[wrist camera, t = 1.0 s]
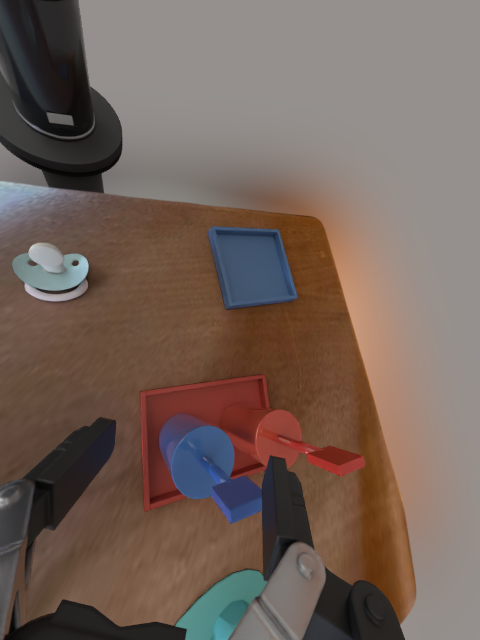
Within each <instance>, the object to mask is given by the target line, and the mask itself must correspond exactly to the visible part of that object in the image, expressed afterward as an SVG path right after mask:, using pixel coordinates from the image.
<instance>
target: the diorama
mask: <svg viewBox="0 0 480 640" xmlns="http://www.w3.org/2000/svg"><path fill="white" fill-rule="evenodd" d="M266 584H267V581H264V577H263V575H262V574H261V573H260V572H259V571H256V570H250V569H245V570H241V571H238V572H234V573H232V574H230V575H229V576H227V577H225V578H224V579H222V580H220V581H219V582H217V583H216V584H214V585H213V586H212V587H211V588H210V589H209V590H208V591H206V592H205V593H204V594H203V595H202V596H201V597H199V598H198V599H197V600H196V602H195V603H194V604H193V605H192V606H191V607H190V608H189V609H188V610H187V612H186V613H185V614H184V615H183V616H182V617H181V618H180V619H179V621H178V622H177V623H176V625H175V626H176V627H180V628H185V629H187V632H186V638H185V640H228V639H229V637H230V635H231V634H232V632H233V631H234V629H235V627H236V626H237V624H238V623H239V621H240V619H241V618H242V616H243V615H244V613H245V611H246V610H247V608H248V607H249V605H250V603H251V602H252V601H253V599H254V598H255V597H256V596H257V597H258V596H259V595H260V593H261V592H262V590H263V589H264V587H265V585H266Z"/></svg>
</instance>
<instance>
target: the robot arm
mask: <svg viewBox="0 0 480 640" xmlns="http://www.w3.org/2000/svg"><path fill="white" fill-rule="evenodd" d="M0 70H1V73H2V75H3V78H4V80H5V83H6V85H7V88H8V90H9V92H10V95H11V97H12V101H13V104H14V107H15V109H16V112H17V114H18V115H19V117H20V118H21V119H22V120H23V122H24V123H25V124H27V125H28V126H29V127H30V128H32V129H33V130H34V131H36V132H38V133H40V134H41V135H44V136H46V137H48V138H51V139H55V140H59V141H65V142H76V141H81V140H84V139H86V138H88V137H90V136H91V135H92V133H93V132H94V130H95V125H96V123H95V116H94V113H93V107H92V99H91V90H90V83H89V76H88V68H87V60H86V53H85V46H84V38H83V31H82V23H81V16H80V8H79V1H78V0H0ZM115 432H116V421H115V420H111V419H106V418H102V417H100V418H98V419H97V420H96V421H95V422H94V423H93V424H92V425H91V426H90V427H89V426H84V427H82V428H80V429H78V430H76V431H74V432H73V433H72V434H70V435H69V436H68V437H67V438H66V439H65V440H64V441H63V442H62V443H61V444H60V445H58V446H57V447H56V449H55V450H53V451H52V452H51V453H50V454H49V455H47V456H46V457H45V458H44V459H43V460H42V461H41V462H40V463H39V464H38V465H36V466H35V467H34V468H33V469H32V470H31V471H30V472H29V473H28V474H27V475H25V476H24V477H23V478H22V479H18V480H13V481H10V482H7V483H5V484H3V485H1V486H0V640H185V638H186V632H187V629H185V628H180V627H176V626H172V625H168V624H164V623H160V622H151V623H145V624H138V625H132V626H125V627H120V626H117V625H116V624H115V623H113V622H112V621H111V620H109V619H108V618H107V617H106V616H104V615H103V614H102V613H101V612H99V611H98V610H97V609H95V608H94V607H93V606H88V605H84V604H80V603H76V602H72V601H68V600H62V601H61V603H60V605H59V607H58V608H57V610H56V612H55V613H51V614H47V615H44V616H41V617H39V618H36V619H34V620H32V621H30V622H28V623H26V612H27V599H28V591H29V584H30V577H31V571H32V564H33V557H34V550H35V543H36V537H37V536H38V535H39V533H40V532H41V531H42V530H43V528H46V529H50V530H55V529H56V527H57V526H58V525H59V523H60V522H61V521H62V519H63V518H64V517H65V515H66V514H67V513H68V512H69V510H70V509H71V508H72V506H73V505H74V504H75V502H76V501H77V500H78V498H79V497H80V496H81V495H82V493H83V492H84V491H85V489H86V488H87V487H88V485H89V484H90V483H91V481H92V480H93V479H94V477H95V476H96V475H97V474H98V472H99V471H100V470H101V468H102V467H103V466H104V464H105V463H106V462H107V460H108V459H109V458H110V456H111V454H112V452H113V449H114V445H115ZM262 530H263V577H264V581H268V582H267V584H266V585H265V587H264V589H263V590H262V592H261V593H260V595H259V596H258V597H257V596H256V597H255V598H254V599H253V601H252V602H251V603H250V605H249V607H248V608H247V610H246V611H245V613H244V615H243V616H242V618H241V619H240V621H239V623H238V624H237V626H236V627H235V629H234V631H233V632H232V634H231V635H230V637H229V639H228V640H405V638H404V635H403V632H402V630H401V627H400V624H399V621H398V619H397V616H396V613H395V611H394V609H393V607H392V605H391V604H390V602H389V600H388V599H387V598H386V596H385V595H384V594H383V593H382V592H381V591H380V590H379V589H378V588H377V587H376V586H374V585H373V584H371V583H370V582H367V581H364V580H359V581H356V582H355V583H354V584H353V586H352V585H350V584H348V583H347V582H345V581H344V580H342V579H340V578H339V577H337V576H336V575H334V574H333V573H331V572H330V571H329V570H328V569H327V568H326V567H325V566H324V564H323V562H322V560H321V558H320V556H319V555H318V554H317V552H316V551H315V549H314V545H313V541H312V536H311V531H310V526H309V521H308V516H307V511H306V507H305V501H304V497H303V491H302V486H301V483H300V481H299V479H298V478H297V476H296V474H295V473H293V472H289V471H287V465H286V460H285V458H281V457H276V456H272V455H270V457H269V460H268V464H267V467H266V471H265V475H264V478H263V484H262Z"/></svg>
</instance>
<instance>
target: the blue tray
mask: <svg viewBox="0 0 480 640" xmlns="http://www.w3.org/2000/svg"><path fill="white" fill-rule="evenodd" d="M208 235H209V240H210V244H211V248H212V253H213V257H214V261H215V266H216V270H217V274H218V279H219V283H220V287H221V292H222V296H223V300H224V305H225V309H234V308H242V307H249V306H257V305H265V304H272V303H280V302H288V301H293V300H295V299H297V298H298V296H297V292H296V289H295V285H294V282H293V278H292V275H291V271H290V268H289V264H288V260H287V257H286V253H285V250H284V246H283V243H282V239H281V236H280V232H279V230H278V229H277V230H276V229H256V228H235V227H214V226H211V228H210V230H209V232H208Z"/></svg>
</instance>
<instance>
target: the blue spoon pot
mask: <svg viewBox="0 0 480 640" xmlns="http://www.w3.org/2000/svg"><path fill="white" fill-rule="evenodd" d="M158 446H159V450H160V452H161V454H162V457H163V459H164V461H165V463H166V466H167V468H168V470H169V472H170V475H171V477H172V479H173V481H174V484H175V485H176V487H177V489H178V490H179V491H180V492H181V493H182V494H183V495H185V496H187V497H189V498H193V499H203V498H207V497H210V496H212V498H213V500H214V501H215V502H216V504H217V505H218V507H219V508H220V509H221V511H222V512H223V514H224V515H225V516H226V518H227V519H228V521H229V522H230V523H231V524H232V523H234V522H237V521H239V520H241V519H244V518H246V517H248V516H251V515H253V514H255V513H257V512H260V511H262V489H261V488H260V487H259V486H257V485H256V484H255V483H254V482H252V481H251V480H250V479H249V478H248V477H246V476H245V475H244V476H241V477H238V478H235V479H232V478H231V477H230V475H231V472H232V469H233V466H234V448H233V444H232V442H231V440H230V438H229V436H228V435H227V434H226V433H225V432H224V431H223V430H221V429H220V428H218V427H216V426H214V425H212V424H210V423H208V422H206V421H204V420H202V419H200V418H198V417H196V416H194V415H192V414H189V413H179V414H176V415H174V416H172V417H171V418H169V419H168V420H167V421H166V422H165V423H164V425H163V426H162V428H161V430H160V433H159V437H158Z"/></svg>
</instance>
